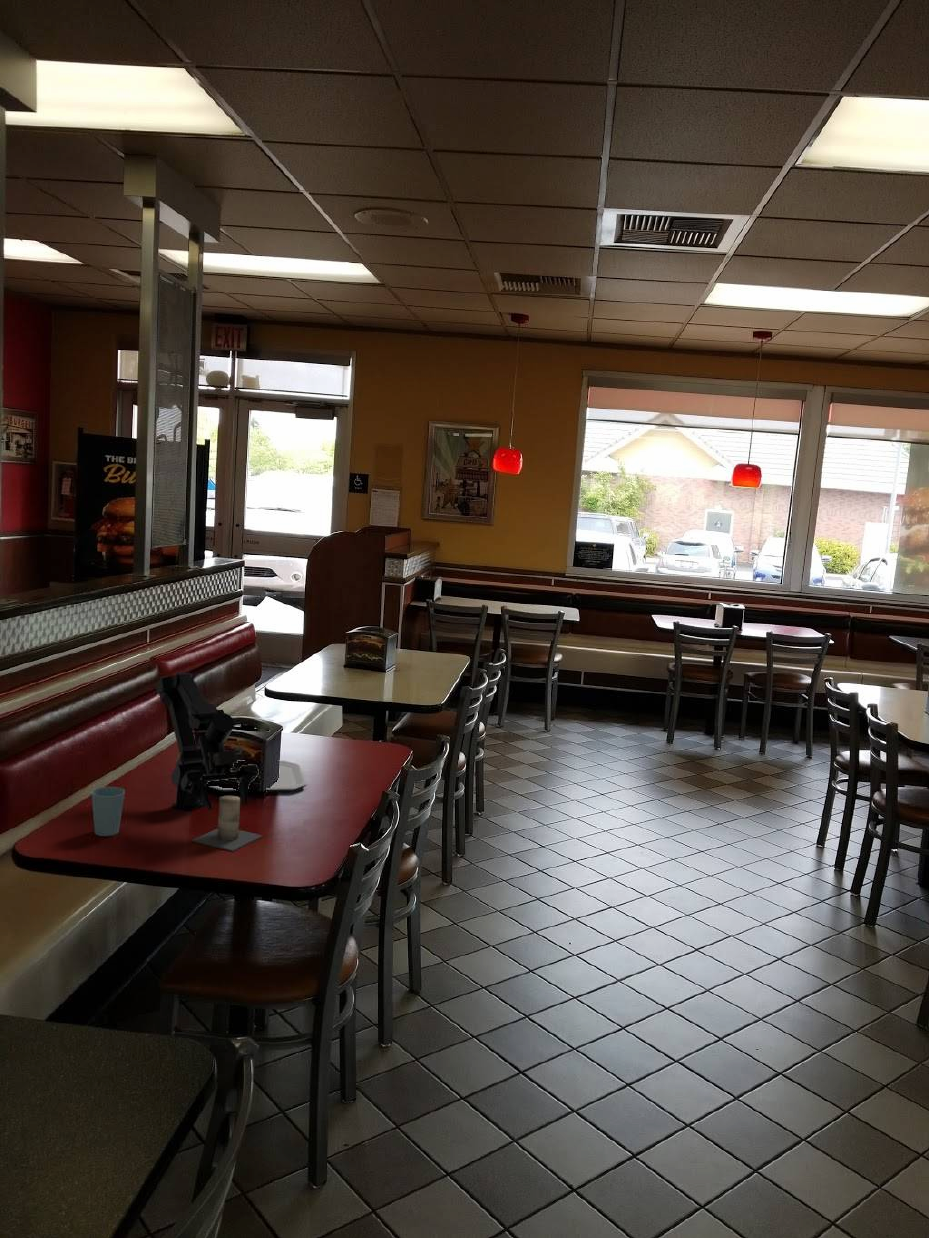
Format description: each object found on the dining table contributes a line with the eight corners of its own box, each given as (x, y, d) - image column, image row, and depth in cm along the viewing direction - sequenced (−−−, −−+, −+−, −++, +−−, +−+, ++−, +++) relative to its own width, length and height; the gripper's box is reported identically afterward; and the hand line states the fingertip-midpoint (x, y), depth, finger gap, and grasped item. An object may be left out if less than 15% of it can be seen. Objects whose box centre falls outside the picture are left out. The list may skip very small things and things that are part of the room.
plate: (204, 796, 268) (205, 789, 267) (204, 767, 295) (204, 760, 295) (308, 795, 276) (308, 788, 275) (297, 766, 303) (298, 760, 303)
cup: (123, 826, 239) (124, 786, 238) (123, 837, 232) (125, 795, 231) (91, 827, 237) (92, 787, 235) (90, 838, 229) (91, 797, 228)
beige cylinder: (219, 833, 238) (221, 794, 237) (240, 834, 239) (242, 796, 237) (215, 840, 233) (217, 801, 232) (235, 841, 234) (237, 802, 232)
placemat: (223, 827, 244) (223, 825, 244) (262, 837, 239) (262, 835, 239) (192, 841, 233) (192, 839, 233) (232, 851, 228) (233, 850, 228)
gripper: (186, 739, 232) (201, 796, 225) (258, 733, 243) (274, 787, 236) (174, 761, 239) (187, 817, 232) (244, 754, 250) (259, 808, 243)
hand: (228, 807), depth 236 cm, fingers open, 9 cm apart
